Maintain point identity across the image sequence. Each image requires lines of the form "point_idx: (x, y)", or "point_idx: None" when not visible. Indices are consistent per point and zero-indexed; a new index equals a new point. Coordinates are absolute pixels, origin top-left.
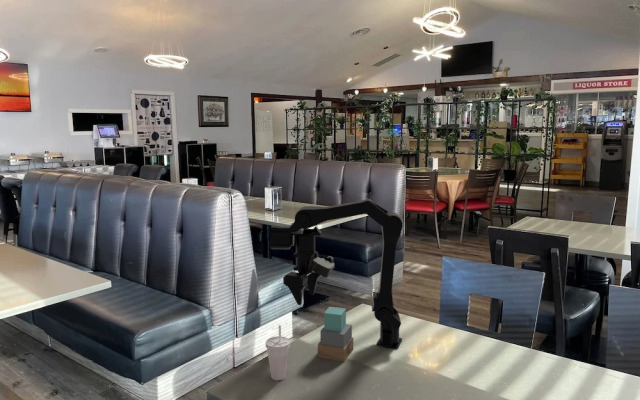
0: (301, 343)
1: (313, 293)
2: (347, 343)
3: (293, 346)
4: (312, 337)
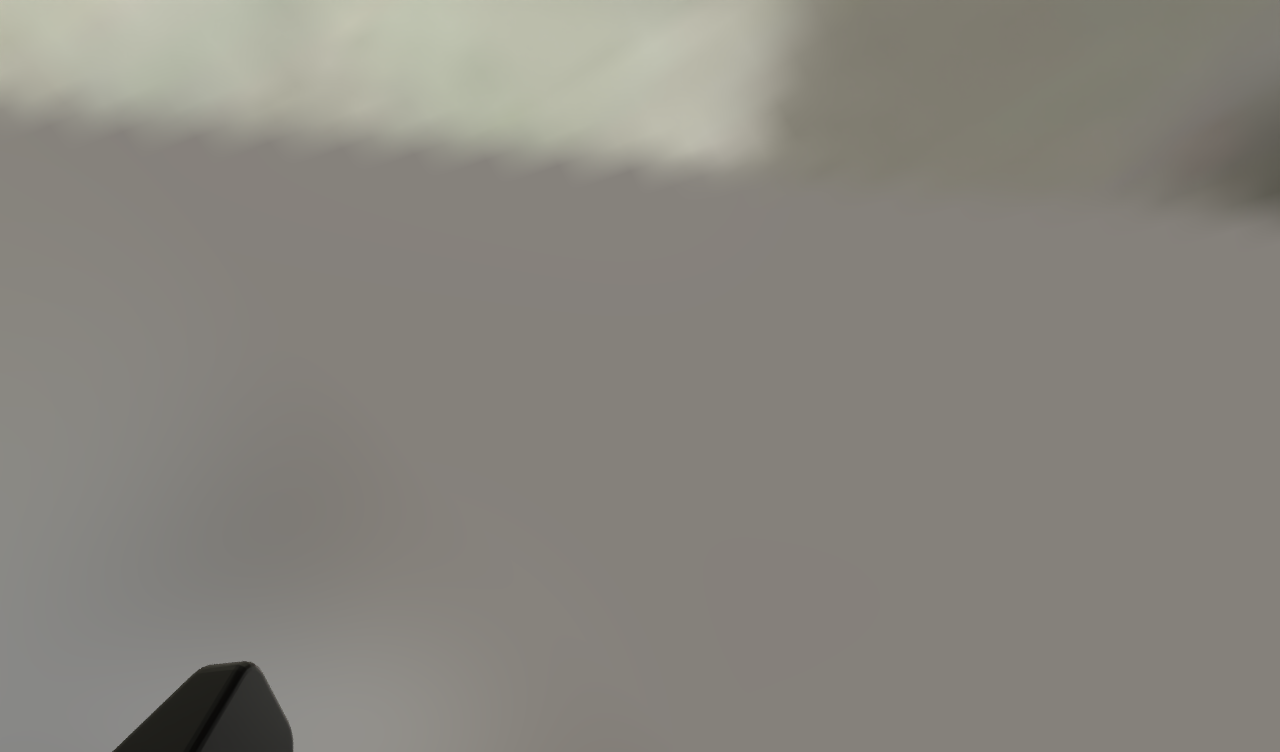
0: (874, 86)
1: (225, 702)
2: None
3: (1029, 136)
4: (578, 52)
